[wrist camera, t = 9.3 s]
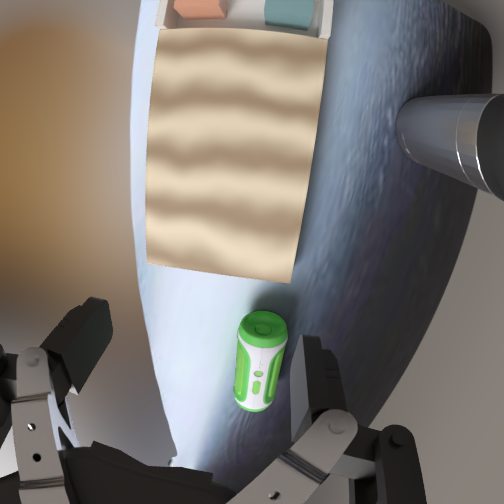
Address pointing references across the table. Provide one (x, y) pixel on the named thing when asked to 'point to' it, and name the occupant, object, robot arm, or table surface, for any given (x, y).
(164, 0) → the box
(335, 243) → the table surface
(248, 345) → the speaker
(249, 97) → the wooden tray board
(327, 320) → the table surface
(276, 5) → the teal tile
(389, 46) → the table surface
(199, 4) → the terracotta tile
